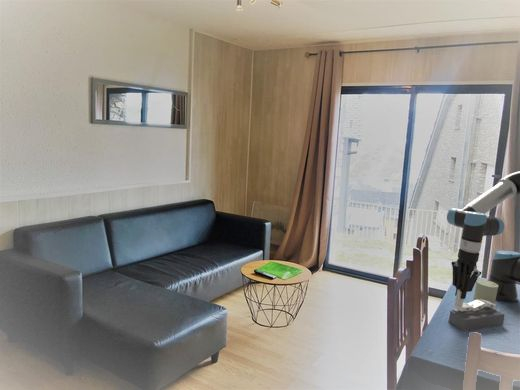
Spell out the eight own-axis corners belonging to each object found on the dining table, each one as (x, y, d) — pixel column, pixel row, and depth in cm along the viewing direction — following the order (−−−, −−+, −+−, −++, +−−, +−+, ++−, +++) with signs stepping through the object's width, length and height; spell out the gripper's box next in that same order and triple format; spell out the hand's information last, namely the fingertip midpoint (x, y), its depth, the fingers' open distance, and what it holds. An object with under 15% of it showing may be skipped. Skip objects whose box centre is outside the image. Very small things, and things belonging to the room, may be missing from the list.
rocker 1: (464, 305, 175) (464, 302, 175) (472, 310, 171) (473, 306, 171) (453, 306, 173) (454, 303, 173) (462, 311, 169) (462, 307, 169)
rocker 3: (487, 304, 181) (488, 300, 181) (496, 309, 177) (497, 305, 177) (478, 302, 178) (479, 298, 178) (486, 306, 174) (488, 303, 174)
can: (496, 312, 188) (501, 287, 186) (475, 309, 190) (479, 284, 188) (490, 304, 197) (494, 280, 195) (469, 300, 199) (473, 277, 196)
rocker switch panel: (486, 316, 182) (488, 303, 181) (502, 325, 175) (505, 311, 174) (448, 321, 174) (450, 308, 173) (464, 331, 167) (466, 317, 166)
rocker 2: (476, 302, 178) (476, 299, 177) (485, 307, 174) (485, 303, 173) (466, 307, 176) (466, 303, 176) (474, 311, 172) (474, 308, 172)
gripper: (449, 245, 171) (439, 298, 175) (476, 255, 159) (464, 312, 163) (463, 245, 174) (452, 297, 178) (490, 255, 162) (478, 311, 166)
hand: (458, 304), depth 171 cm, fingers closed
